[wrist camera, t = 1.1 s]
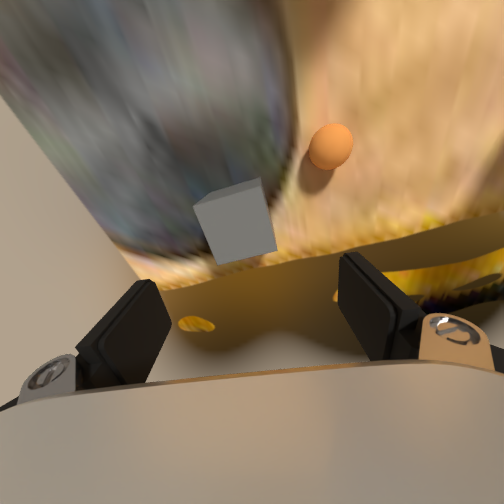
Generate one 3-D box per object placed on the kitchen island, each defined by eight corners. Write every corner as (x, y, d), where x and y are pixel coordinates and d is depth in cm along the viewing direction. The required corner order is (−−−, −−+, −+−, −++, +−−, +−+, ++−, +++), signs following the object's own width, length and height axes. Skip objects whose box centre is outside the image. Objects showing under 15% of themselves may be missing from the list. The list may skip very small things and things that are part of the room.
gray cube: (260, 177, 29) (260, 186, 21) (273, 226, 32) (277, 250, 24) (210, 192, 30) (192, 206, 22) (227, 238, 33) (217, 265, 25)
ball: (341, 120, 25) (359, 113, 21) (345, 162, 27) (361, 163, 23) (302, 133, 26) (311, 129, 22) (308, 173, 28) (317, 176, 24)
